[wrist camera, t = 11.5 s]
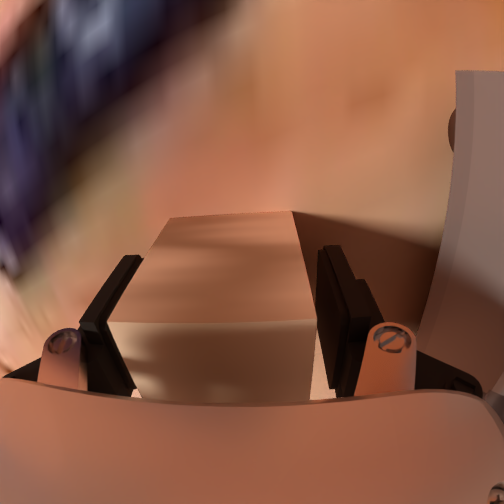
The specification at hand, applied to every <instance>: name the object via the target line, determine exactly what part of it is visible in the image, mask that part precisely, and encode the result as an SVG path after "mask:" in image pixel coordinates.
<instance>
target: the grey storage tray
mask: <svg viewBox="0 0 504 504" xmlns="http://www.w3.org/2000/svg"><path fill="white" fill-rule="evenodd" d="M448 136H449V142H450V146H451V149H452V151H453V152H454V157H453V168H452V177H451V186H450V193H449V200H448V207H447V213H446V219H445V225H444V231H443V236H442V241H441V246H440V251H439V255H438V260H437V264H436V268H435V273H434V277H433V281H432V285H431V288H430V292H429V296H428V299H427V303H426V306H425V310H424V313H423V316H422V320H421V323H420V326H419V329H418V332H417V335H416V342H417V349H416V350H418V351H420V352H422V353H424V354H427V355H429V356H431V357H433V358H435V359H438V360H440V361H442V362H444V363H446V364H449V365H451V366H453V367H455V368H458V369H460V370H462V371H464V372H467V373H469V374H470V375H472V376H474V377H475V378H476V379H477V380H478V381H479V383H480V385H481V387H482V391H483V392H485V393H487V392H488V390H491V391H493V392H496V393H498V394H500V395H503V396H504V72H499V71H456V109H455V110H454V111H453V113H452V115H451V117H450V120H449V126H448Z"/></svg>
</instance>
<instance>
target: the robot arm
mask: <svg viewBox="0 0 504 504" xmlns="http://www.w3.org/2000/svg"><path fill="white" fill-rule="evenodd" d="M143 260H144V258H141V256H140V255H125V256H124V257H123V258H122V259H121V261H120V262H119V264H118V265H117V266H116V268H115V269H114V271H113V272H112V273H111V275H110V276H109V278H108V279H107V281H106V282H105V283H104V285H103V286H102V288H101V289H100V291H99V292H98V294H97V295H96V297H95V298H94V300H93V301H92V303H91V304H90V306H89V307H88V309H87V310H86V312H85V313H84V315H83V316H82V318H81V319H80V321H79V323H80V327H79V328H78V330H76V329H73V328H65V329H61V330H58V331H57V332H55V333H53V334H52V335H51V336H50V337H49V338H48V339H47V340H46V342H45V344H44V347H43V352H42V357H41V358H39V359H37V360H35V361H33V362H31V363H29V364H27V365H25V366H23V367H21V368H19V369H17V370H15V371H13V372H11V373H9V374H7V375H5V376H4V377H3V378H0V504H504V396H503V395H500V394H498V393H496V392H493V391H491V390H488V392H487V393H485V392H483V391H482V387H481V385H480V383H479V381H478V380H477V379H476V378H475V377H474V376H472V375H470V374H469V373H467V372H464V371H462V370H460V369H458V368H455V367H453V366H451V365H449V364H446V363H444V362H442V361H440V360H438V359H435V358H433V357H431V356H429V355H427V354H424V353H422V352H420V351H418V350H416V349H417V342H416V337H415V335H414V334H413V332H412V331H411V330H410V329H409V328H407V327H405V326H403V325H401V324H398V323H393V322H385V321H384V319H383V317H382V315H381V312H380V310H379V308H378V306H377V304H376V302H375V300H374V297H373V295H372V293H371V291H370V289H369V287H368V285H367V283H366V281H365V280H364V279H358V280H356V279H355V277H354V274H353V272H352V270H351V268H350V266H349V264H348V262H347V259H346V257H345V255H344V253H343V251H342V249H341V247H340V245H330V246H324V248H323V250H318V262H317V284H316V302H315V311H316V316H317V329H318V334H319V339H320V344H321V349H322V354H323V359H324V364H325V369H326V375H327V380H328V385H329V389H335V393H336V398H333V399H321V400H308V401H293V402H271V403H206V402H183V401H168V400H155V399H144V398H135V397H131V395H132V392H133V389H137V387H136V385H135V383H134V381H133V379H132V377H131V375H130V373H129V371H128V368H127V366H126V364H125V362H124V360H123V358H122V356H121V353H120V351H119V349H118V347H117V344H116V342H115V340H114V338H113V335H112V333H111V331H110V328H109V326H108V323H107V320H108V319H109V317H110V315H111V313H112V312H113V310H114V308H115V306H116V305H117V303H118V301H119V299H120V298H121V296H122V294H123V293H124V291H125V289H126V288H127V286H128V284H129V283H130V281H131V279H132V278H133V276H134V274H135V273H136V271H137V269H138V268H139V266H140V264H141V263H142V261H143ZM341 397H343V398H341Z"/></svg>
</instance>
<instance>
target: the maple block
mask: <svg viewBox="0 0 504 504" xmlns="http://www.w3.org/2000/svg"><path fill="white" fill-rule="evenodd" d="M107 323H108V326H109V328H110V331H111V333H112V335H113V338H114V340H115V342H116V344H117V347H118V349H119V351H120V353H121V356H122V358H123V360H124V362H125V364H126V366H127V368H128V371H129V373H130V375H131V377H132V379H133V381H134V383H135V385H136V387H137V389H138V391H139V393H140V395H141V397H142V398H144V399H155V400H168V401H183V402H206V403H271V402H293V401H308V400H309V399H310V390H311V381H312V372H313V362H314V351H315V340H316V327H317V316H316V311H315V307H314V302H313V298H312V293H311V289H310V284H309V280H308V276H307V272H306V267H305V263H304V259H303V255H302V251H301V247H300V242H299V238H298V234H297V230H296V226H295V223H294V219H293V215H292V211H280V212H259V213H240V214H224V215H208V216H193V217H179V218H170V219H169V221H168V222H167V224H166V225H165V227H164V228H163V230H162V231H161V233H160V234H159V236H158V238H157V239H156V241H155V242H154V244H153V245H152V247H151V248H150V250H149V252H148V253H147V255H146V256H145V258H144V260H143V261H142V263H141V264H140V266H139V268H138V269H137V271H136V273H135V274H134V276H133V278H132V279H131V281H130V283H129V284H128V286H127V288H126V289H125V291H124V293H123V294H122V296H121V298H120V299H119V301H118V303H117V305H116V306H115V308H114V310H113V312H112V313H111V315H110V317H109V319H108V320H107Z"/></svg>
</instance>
